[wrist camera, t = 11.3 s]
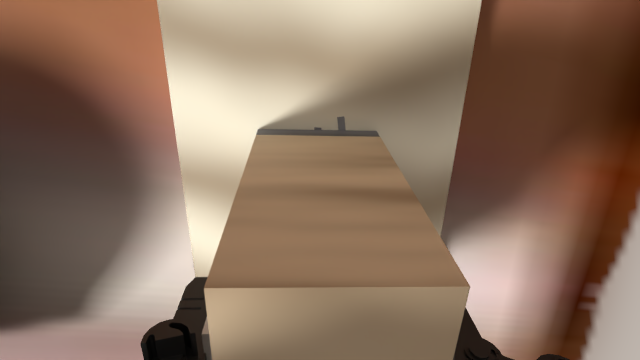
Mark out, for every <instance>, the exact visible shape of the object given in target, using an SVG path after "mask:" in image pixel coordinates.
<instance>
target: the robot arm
mask: <svg viewBox="0 0 640 360" xmlns="http://www.w3.org/2000/svg"><path fill="white" fill-rule="evenodd" d="M207 278H208V277H195V278H194V279H193V280H192V281H191V282H190V283H189V284H188V285H187V286H186V288H185V291H184V293H183V296H182V298H181V301H180V303H179V306H178V310H177V311H176V313H175V316H174V318H173V319H171V320H166V321H163V322H160V323H158V324H157V325H155V326H153V327H152V328H150V329H149V330H148V331H147V333H146V334H145V335H144V336H143V339H142V341H141V348H142V352H143V357H144V360H212V354H211V346H210V337H209V328H208V320H207V311H206V302H205V294H204V286H205V283H206V280H207ZM453 360H514V359H510V358H507V357H505V356H503V355H502V354H501V352H500V351H499V350H498V349H497V348H496V347H495V346H494V345H493V344H492V343H490V342H489V341H487V340H485V339H483V338H482V337H481V335H480V334H479V332H478V330H477V328H476V326H475V324H474V322H473V321H472V319H471V317H470V315H469V313H468V311H467V309H466V308H465V310H464V315H463V319H462V323H461V327H460V332H459V336H458V340H457V344H456V349H455V353H454V357H453ZM537 360H569V359H567V358H564V357H562V356H559V355H553V354H546V355H541V356H540V357H539V358H538V359H537Z"/></svg>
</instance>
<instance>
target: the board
mask: <svg viewBox="0 0 640 360" xmlns="http://www.w3.org/2000/svg"><path fill="white" fill-rule="evenodd" d="M481 2H482V0H157V4H158V11H159V18H160V26H161V33H162V40H163V47H164V54H165V61H166V69H167V76H168V83H169V90H170V97H171V105H172V112H173V119H174V126H175V133H176V140H177V148H178V155H179V162H180V169H181V176H182V184H183V191H184V198H185V205H186V212H187V220H188V227H189V234H190V241H191V248H192V255H193V263H194V270H195V277H208V275H209V272H210V269H211V266H212V263H213V260H214V257H215V254H216V251H217V248H218V245H219V242H220V239H221V236H222V233H223V230H224V228H225V225H226V222H227V219H228V216H229V213H230V210H231V207H232V204H233V201H234V198H235V195H236V192H237V189H238V186H239V183H240V180H241V178H242V175H243V172H244V169H245V166H246V163H247V160H248V157H249V154H250V151H251V148H252V145H253V142H254V139H255V136H256V133H257V130H258V129H289V130H354V131H377V132H378V134H379V136H380V137H381V139H382V141H383V142H384V144H385V146H386V147H387V149H388V151H389V152H390V154H391V156H392V157H393V159H394V161H395V162H396V164H397V166H398V167H399V169H400V171H401V172H402V174H403V176H404V177H405V179H406V181H407V182H408V184H409V186H410V187H411V189H412V191H413V192H414V194H415V196H416V197H417V199H418V201H419V202H420V204H421V206H422V207H423V209H424V211H425V212H426V214H427V216H428V217H429V219H430V221H431V222H432V224H433V226H434V227H435V229H436V231H437V232H438V234H439V236H440V237H441V231H442V226H443V220H444V214H445V208H446V203H447V197H448V191H449V185H450V180H451V174H452V168H453V163H454V157H455V151H456V145H457V140H458V134H459V128H460V122H461V117H462V111H463V105H464V99H465V94H466V88H467V82H468V77H469V71H470V65H471V59H472V54H473V48H474V42H475V36H476V31H477V25H478V19H479V13H480V8H481Z"/></svg>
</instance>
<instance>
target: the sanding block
mask: <svg viewBox="0 0 640 360" xmlns="http://www.w3.org/2000/svg"><path fill="white" fill-rule="evenodd" d="M469 289H470V286H469V284H468V282H467V281H466V279H465V277H464V276H463V274H462V272H461V271H460V269H459V267H458V266H457V264H456V262H455V261H454V259H453V257H452V256H451V254H450V252H449V251H448V249H447V247H446V246H445V244H444V242H443V241H442V239H441V237H440V236H439V234H438V232H437V231H436V229H435V227H434V226H433V224H432V222H431V221H430V219H429V217H428V216H427V214H426V212H425V211H424V209H423V207H422V206H421V204H420V202H419V201H418V199H417V197H416V196H415V194H414V192H413V191H412V189H411V187H410V186H409V184H408V182H407V181H406V179H405V177H404V176H403V174H402V172H401V171H400V169H399V167H398V166H397V164H396V162H395V161H394V159H393V157H392V156H391V154H390V152H389V151H388V149H387V147H386V146H385V144H384V142H383V141H382V139H381V137H380V136H379V134H378V132H377V131H354V130H289V129H258V130H257V133H256V136H255V139H254V142H253V145H252V148H251V151H250V154H249V157H248V160H247V163H246V166H245V169H244V172H243V175H242V178H241V180H240V183H239V186H238V189H237V192H236V195H235V198H234V201H233V204H232V207H231V210H230V213H229V216H228V219H227V222H226V225H225V228H224V230H223V233H222V236H221V239H220V242H219V245H218V248H217V251H216V254H215V257H214V260H213V263H212V266H211V269H210V272H209V275H208V278H207V280H206V283H205V286H204V294H205V302H206V311H207V320H208V328H209V337H210V346H211V354H212V360H453V357H454V353H455V349H456V344H457V340H458V336H459V332H460V327H461V323H462V319H463V315H464V310H465V306H466V302H467V298H468V293H469Z"/></svg>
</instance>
